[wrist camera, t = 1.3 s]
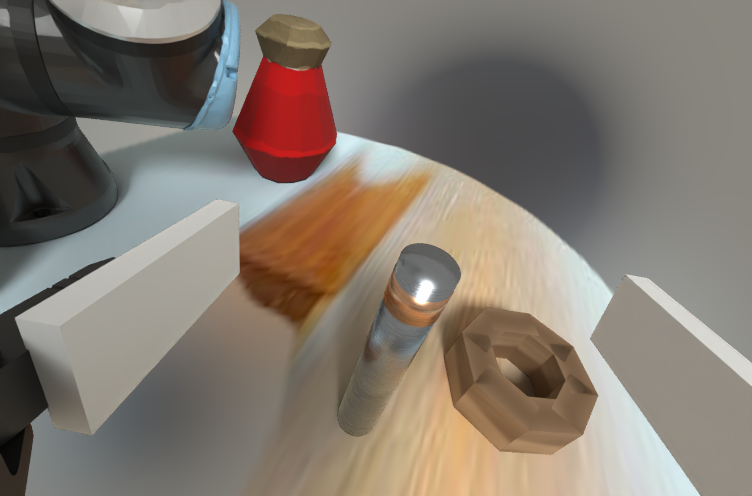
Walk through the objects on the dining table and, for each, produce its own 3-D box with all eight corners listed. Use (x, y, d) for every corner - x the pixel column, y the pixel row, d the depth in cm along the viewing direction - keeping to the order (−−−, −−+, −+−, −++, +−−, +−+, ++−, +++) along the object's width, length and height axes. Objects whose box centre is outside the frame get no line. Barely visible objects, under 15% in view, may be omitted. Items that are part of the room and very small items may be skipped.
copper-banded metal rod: (338, 394, 30) (396, 237, 18) (375, 397, 31) (454, 248, 19) (335, 435, 27) (401, 284, 16) (376, 438, 28) (468, 294, 17)
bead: (438, 328, 38) (454, 302, 35) (536, 341, 40) (558, 317, 37) (461, 448, 29) (485, 427, 26) (585, 457, 31) (620, 437, 28)
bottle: (281, 207, 47) (295, 43, 34) (212, 163, 51) (201, 0, 38) (348, 172, 58) (378, 39, 46) (288, 138, 62) (299, 6, 49)
